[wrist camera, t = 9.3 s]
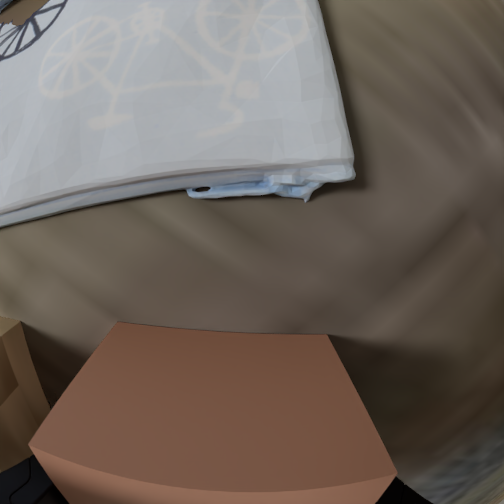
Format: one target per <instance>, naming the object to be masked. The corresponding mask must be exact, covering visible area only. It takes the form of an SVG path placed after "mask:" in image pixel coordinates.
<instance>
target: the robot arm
mask: <svg viewBox="0 0 504 504" xmlns="http://www.w3.org/2000/svg"><path fill="white" fill-rule="evenodd" d="M0 504H69V502H68V501H67V500H66V499H65V497H64V496H63V495H62V494H61V492H60V491H59V490H58V488H57V487H56V486H55V484H54V483H53V482H52V480H51V479H50V477H49V476H48V475H47V473H46V472H45V470H44V469H43V467H42V466H41V464H40V463H39V461H38V460H37V458H36V457H35V455H34V454H33V455H31V456H30V458H29V457H28V458H26V459H25V460H23V461H21V462H20V463H18V464H16V465H14V466H13V467H11V468H9V469H7V470H5V471H3V472H1V473H0ZM375 504H433V503H431V502H430V501H428V500H426V499H425V498H423V497H422V496H421V495H419V494H418V493H416V492H415V491H414V490H412V489H411V488H410V487H409V486H407V485H404V483H403V482H402V481H401V480H400V479H398V478H397V477H396V476H395V478H394V479H393V481H392V482H391V483H390V485H389V486H388V487H387V489H386V490H385V491H384V493H383V494H382V495H381V497H380V498H379V499H378V501H377V502H376V503H375Z"/></svg>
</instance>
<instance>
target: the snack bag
mask: <svg viewBox="0 0 504 504" xmlns="http://www.w3.org/2000/svg"><path fill="white" fill-rule="evenodd" d="M11 1H12V0H0V13H1V10H2V9H3V8H4V7H6V6H7V5H8V4H10V3H11ZM9 2H10V3H9ZM6 3H8V4H7V5H5V4H6ZM12 21H13V20H12ZM12 21H11V22H10V23H9V25H8V24H7V23H6V24H4V22H3V23H2V24H0V228H1V227H5V226H9V225H13V224H17V223H21V222H25V221H30V220H35V219H39V218H43V217H47V216H51V215H55V214H59V213H63V212H66V211H70V210H74V209H79V208H83V207H88V206H93V205H98V204H102V203H107V202H112V201H118V200H123V199H128V198H133V197H139V196H144V195H149V194H155V193H160V192H167V191H174V190H184V189H185V190H186V191H187V193H188V195H189V196H190V197H192V198H199V199H201V198H221V197H229V196H245V195H265V194H271V193H274V194H277V195H280V196H283V197H293V198H304V201H305V202H307V201H308V200H309V198H310V196H311V194H312V192H313V191H314V190H316V189H318V188H319V187H321V186H322V185H323V184H324V183H326V182H335V183H336V182H345V181H349V180H354V179H355V176H356V173H355V171H354V168H353V163H354V152H353V148H352V143H351V139H350V134H349V130H348V126H347V121H346V116H345V111H344V106H343V101H342V96H341V91H340V87H339V82H338V78H337V74H336V69H335V65H334V61H333V57H332V53H331V50H330V46H329V42H328V38H327V34H326V30H325V26H324V21H323V17H322V13H321V9H320V6H319V2H318V0H49V1H48V2H47V3H46V4H44V5H43V6H42V7H41V8H40V9H38V10H37V11H36V12H34V13H33V14H32V16H31V17H30V18H29V19H27V20H26V21H25V23H24V24H23V25H19V26H15V25H12ZM3 24H4V25H3ZM206 186H207V187H210V189H209V190H208V191H204V192H196V191H195V189H197V188H200V187H206Z"/></svg>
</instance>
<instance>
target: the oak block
mask: <svg viewBox="0 0 504 504" xmlns="http://www.w3.org/2000/svg"><path fill="white" fill-rule="evenodd" d="M50 411H51V409H50V406H49V404H48V402H47V399H46V397H45V395H44V392H43V390H42V387H41V384H40V382H39V379H38V376H37V374H36V371H35V368H34V365H33V362H32V359H31V356H30V353H29V350H28V346H27V343H26V339H25V336H24V332H23V329H22V325H21V321H18V320H14V319H10V318H5V317H1V316H0V473H1V472H3V471H5V470H7V469H9V468H11V467H13V466H14V465H16V464H18V463H20V462H21V461H23V460H25V459H26V458H28V457H29V458H30V456H31V455H33V454H34V453H33V452H32V450H31V448H30V447H29V445H28V444H29V442H30V441H31V439H32V438H33V436H34V435H35V433H36V432H37V430H38V429H39V427H40V426H41V424H42V423H43V421H44V420H45V418H46V417H47V415H48V414H49V413H50Z"/></svg>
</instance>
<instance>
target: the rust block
mask: <svg viewBox="0 0 504 504" xmlns="http://www.w3.org/2000/svg"><path fill="white" fill-rule="evenodd" d="M28 445H29V447H30V448H31V450H32V452H33V453H34V455H35V457H36V458H37V460H38V461H39V463H40V464H41V466H42V467H43V469H44V470H45V472H46V473H47V475H48V476H49V477H50V479H51V480H52V482H53V483H54V484H55V486H56V487H57V488H58V490H59V491H60V492H61V494H62V495H63V496H64V497H65V499H66V500H67V501H68V502H69V504H375V503H376V502H377V501H378V499H379V498H380V497H381V495H382V494H383V493H384V491H385V490H386V489H387V487H388V486H389V485H390V483H391V482H392V481H393V479H394V478H395V476H396V475H397V471H396V469H395V466H394V464H393V462H392V460H391V458H390V456H389V454H388V452H387V450H386V448H385V446H384V444H383V442H382V440H381V438H380V436H379V434H378V432H377V430H376V428H375V426H374V424H373V422H372V420H371V418H370V416H369V414H368V412H367V410H366V408H365V406H364V404H363V402H362V400H361V399H360V397H359V395H358V393H357V391H356V389H355V387H354V385H353V383H352V381H351V379H350V377H349V375H348V374H347V372H346V370H345V368H344V366H343V364H342V362H341V360H340V358H339V356H338V355H337V353H336V351H335V349H334V347H333V345H332V343H331V341H330V340H329V338H328V336H327V334H259V333H236V332H218V331H204V330H191V329H179V328H168V327H158V326H149V325H140V324H132V323H124V322H117V323H116V324H115V326H114V327H113V328H112V329H111V331H110V332H109V333H108V334H107V336H106V337H105V338H104V339H103V341H102V342H101V343H100V345H99V346H98V347H97V348H96V350H95V351H94V352H93V354H92V355H91V356H90V358H89V359H88V360H87V362H86V363H85V364H84V366H83V367H82V368H81V370H80V371H79V372H78V374H77V375H76V376H75V378H74V379H73V380H72V382H71V383H70V384H69V386H68V387H67V389H66V390H65V391H64V393H63V394H62V396H61V397H60V398H59V400H58V401H57V403H56V404H55V405H54V407H53V408H52V410H51V411H50V413H49V414H48V415H47V417H46V418H45V420H44V421H43V423H42V424H41V426H40V427H39V429H38V430H37V432H36V433H35V435H34V436H33V438H32V439H31V441H30V442H29V444H28Z"/></svg>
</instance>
